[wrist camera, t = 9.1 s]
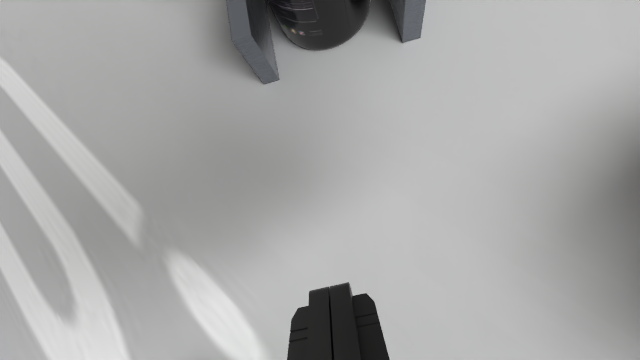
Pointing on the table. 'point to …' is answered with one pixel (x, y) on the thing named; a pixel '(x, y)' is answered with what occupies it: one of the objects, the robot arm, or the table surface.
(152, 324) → the table surface
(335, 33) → the supplement bottle
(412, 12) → the keeper cradle
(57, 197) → the table surface
